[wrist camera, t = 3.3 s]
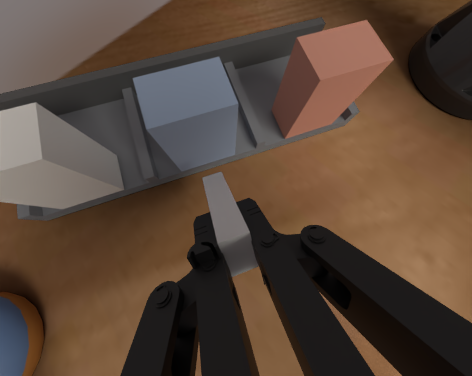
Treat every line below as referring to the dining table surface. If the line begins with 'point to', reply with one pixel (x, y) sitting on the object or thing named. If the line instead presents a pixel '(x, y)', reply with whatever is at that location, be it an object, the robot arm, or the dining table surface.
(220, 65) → the blue rectangular block
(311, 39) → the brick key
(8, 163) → the white rectangular block
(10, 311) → the doughnut
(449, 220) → the dining table surface
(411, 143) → the dining table surface
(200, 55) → the grey divided tray
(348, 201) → the dining table surface
